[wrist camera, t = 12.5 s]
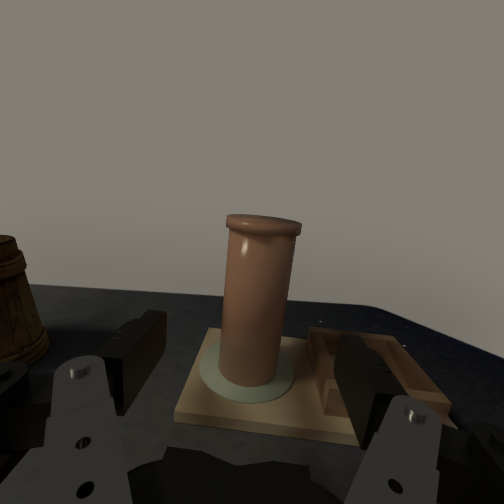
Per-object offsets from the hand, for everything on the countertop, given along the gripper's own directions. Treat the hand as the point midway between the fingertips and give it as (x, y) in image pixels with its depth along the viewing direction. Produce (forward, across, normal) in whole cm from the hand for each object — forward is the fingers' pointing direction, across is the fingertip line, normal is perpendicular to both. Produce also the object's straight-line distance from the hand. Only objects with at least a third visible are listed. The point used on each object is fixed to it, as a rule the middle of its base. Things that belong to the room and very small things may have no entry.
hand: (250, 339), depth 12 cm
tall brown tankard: (+11, 0, +10) cm, 15 cm away
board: (+11, -6, +11) cm, 17 cm away
